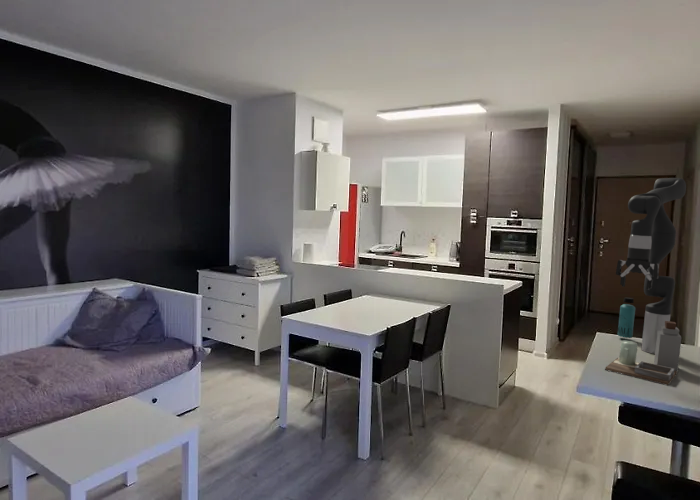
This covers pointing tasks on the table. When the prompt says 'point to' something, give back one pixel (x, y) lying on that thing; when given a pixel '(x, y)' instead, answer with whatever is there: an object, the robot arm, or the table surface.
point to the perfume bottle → (668, 346)
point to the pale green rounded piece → (628, 352)
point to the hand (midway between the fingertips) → (635, 287)
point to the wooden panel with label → (644, 371)
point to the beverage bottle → (626, 319)
